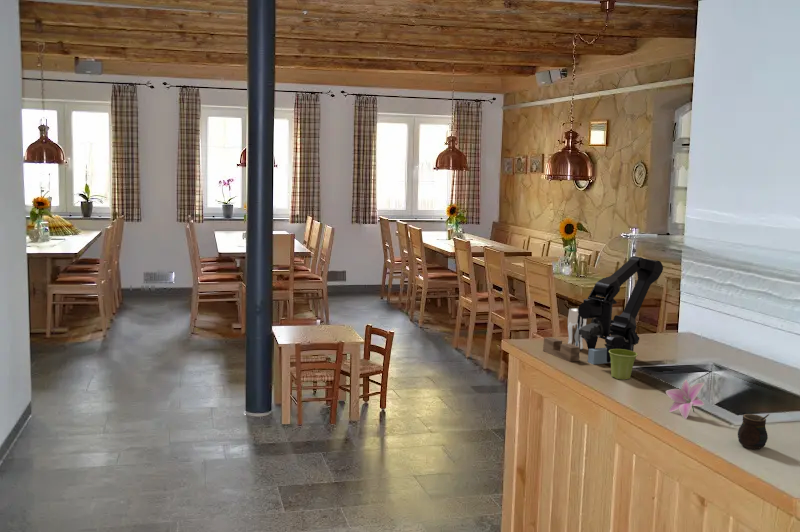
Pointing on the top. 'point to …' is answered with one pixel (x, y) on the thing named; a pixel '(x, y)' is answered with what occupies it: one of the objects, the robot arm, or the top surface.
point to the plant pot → (622, 363)
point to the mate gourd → (753, 431)
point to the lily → (685, 398)
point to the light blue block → (597, 356)
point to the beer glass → (575, 327)
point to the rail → (561, 349)
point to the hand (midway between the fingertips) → (599, 359)
